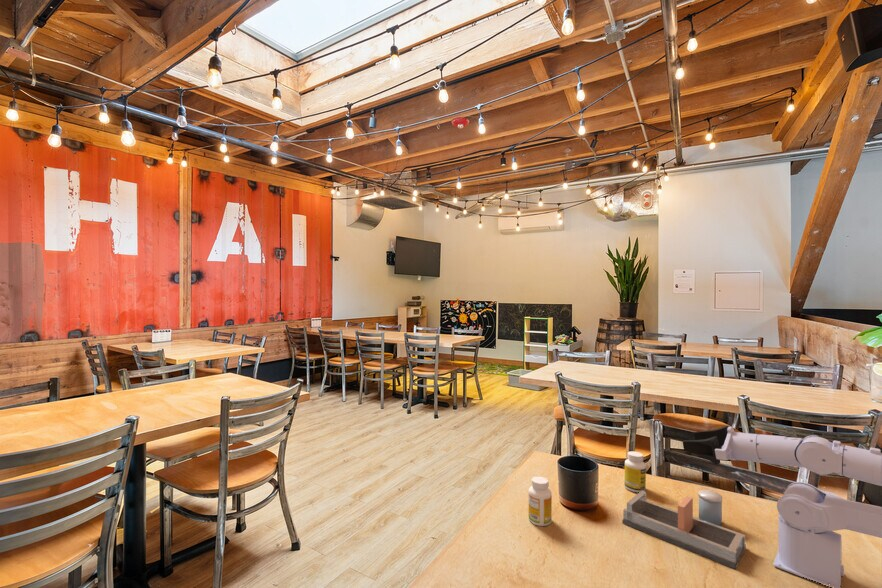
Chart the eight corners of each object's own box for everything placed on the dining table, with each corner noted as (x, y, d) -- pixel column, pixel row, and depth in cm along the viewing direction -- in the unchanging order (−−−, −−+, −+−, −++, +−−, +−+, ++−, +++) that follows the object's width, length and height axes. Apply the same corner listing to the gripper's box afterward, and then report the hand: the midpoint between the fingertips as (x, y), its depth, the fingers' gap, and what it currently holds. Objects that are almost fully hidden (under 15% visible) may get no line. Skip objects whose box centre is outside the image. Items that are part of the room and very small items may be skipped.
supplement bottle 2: (643, 495, 109) (643, 459, 109) (622, 489, 112) (622, 454, 113) (647, 487, 113) (647, 453, 114) (626, 482, 117) (626, 448, 117)
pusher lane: (745, 548, 86) (745, 524, 86) (735, 569, 79) (735, 543, 79) (638, 508, 102) (638, 488, 102) (622, 523, 95) (622, 502, 95)
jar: (724, 522, 96) (724, 494, 96) (719, 529, 93) (719, 501, 93) (701, 514, 100) (701, 487, 100) (695, 521, 96) (695, 494, 96)
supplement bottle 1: (549, 515, 99) (549, 475, 99) (553, 527, 93) (553, 485, 93) (527, 513, 99) (527, 474, 99) (529, 526, 94) (530, 484, 94)
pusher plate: (692, 527, 92) (692, 497, 92) (683, 538, 87) (683, 507, 87) (686, 525, 93) (686, 495, 93) (677, 536, 88) (677, 505, 88)
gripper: (763, 420, 90) (696, 416, 100) (747, 438, 81) (674, 431, 91) (770, 452, 90) (702, 445, 100) (754, 474, 80) (680, 463, 90)
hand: (689, 441), depth 95 cm, fingers open, 7 cm apart
